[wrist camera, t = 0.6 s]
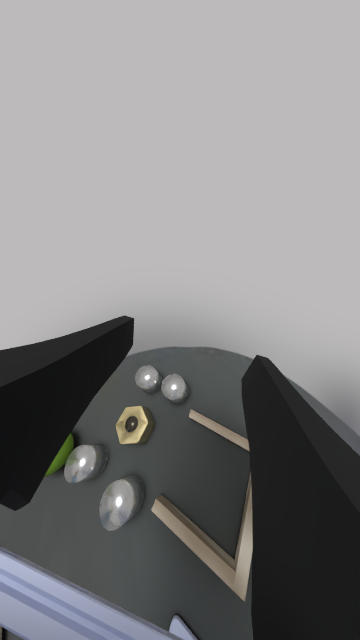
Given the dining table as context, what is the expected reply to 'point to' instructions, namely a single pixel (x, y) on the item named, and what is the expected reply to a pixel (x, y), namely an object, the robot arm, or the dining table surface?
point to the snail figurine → (61, 455)
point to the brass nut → (134, 425)
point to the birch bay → (202, 544)
